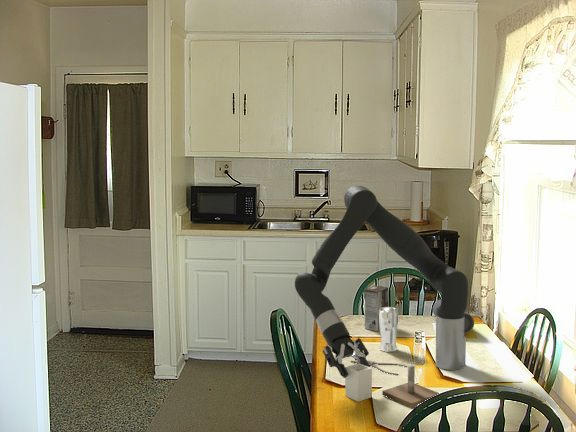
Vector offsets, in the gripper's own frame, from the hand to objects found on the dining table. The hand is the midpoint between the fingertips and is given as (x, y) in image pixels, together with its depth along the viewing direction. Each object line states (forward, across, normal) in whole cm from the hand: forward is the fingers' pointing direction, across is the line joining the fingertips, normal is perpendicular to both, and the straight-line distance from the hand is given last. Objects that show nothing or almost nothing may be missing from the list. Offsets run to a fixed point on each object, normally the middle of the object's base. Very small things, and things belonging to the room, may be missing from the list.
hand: (357, 373), depth 208 cm
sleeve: (+5, 0, +5) cm, 7 cm away
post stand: (+12, +12, -2) cm, 18 cm away
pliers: (-5, +22, +16) cm, 27 cm away
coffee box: (-29, +54, +39) cm, 73 cm away
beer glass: (-13, +38, +23) cm, 46 cm away
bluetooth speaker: (-15, +76, +25) cm, 81 cm away
